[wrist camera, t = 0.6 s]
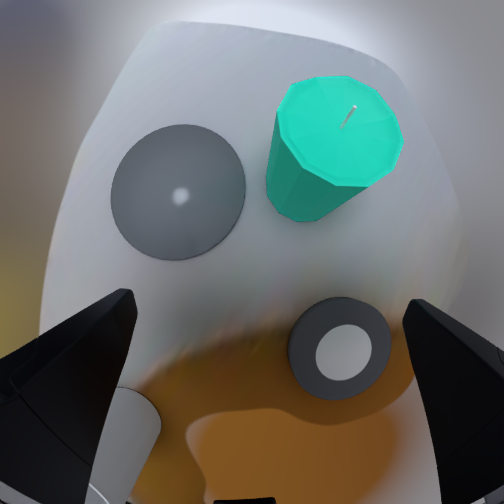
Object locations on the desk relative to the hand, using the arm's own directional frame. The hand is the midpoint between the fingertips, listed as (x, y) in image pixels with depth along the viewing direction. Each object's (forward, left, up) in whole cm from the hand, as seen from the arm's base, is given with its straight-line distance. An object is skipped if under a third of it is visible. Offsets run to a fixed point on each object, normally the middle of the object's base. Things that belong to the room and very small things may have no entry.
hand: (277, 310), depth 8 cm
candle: (+7, -4, -13) cm, 15 cm away
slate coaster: (+8, +6, -13) cm, 16 cm away
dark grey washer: (-6, -5, -13) cm, 15 cm away
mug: (-10, +15, -13) cm, 22 cm away
